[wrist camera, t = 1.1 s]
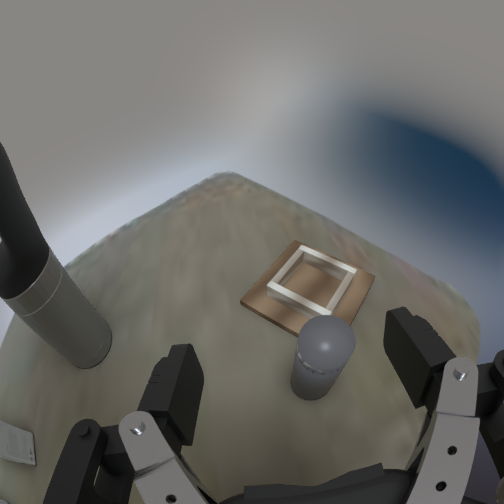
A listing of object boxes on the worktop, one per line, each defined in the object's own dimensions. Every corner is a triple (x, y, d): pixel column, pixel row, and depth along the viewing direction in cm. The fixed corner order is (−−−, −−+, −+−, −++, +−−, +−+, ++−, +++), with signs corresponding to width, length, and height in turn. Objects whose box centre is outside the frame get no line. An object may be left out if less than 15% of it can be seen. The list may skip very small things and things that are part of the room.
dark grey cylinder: (282, 387, 30) (286, 348, 21) (304, 357, 33) (316, 306, 24) (317, 407, 28) (338, 376, 19) (338, 375, 30) (364, 330, 22)
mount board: (240, 304, 39) (238, 289, 37) (294, 244, 47) (295, 228, 45) (332, 355, 32) (337, 344, 30) (373, 279, 40) (379, 265, 38)
